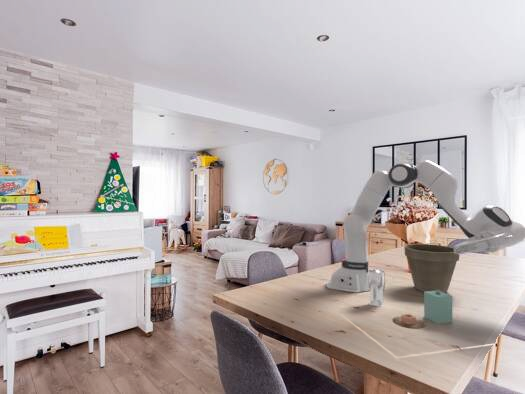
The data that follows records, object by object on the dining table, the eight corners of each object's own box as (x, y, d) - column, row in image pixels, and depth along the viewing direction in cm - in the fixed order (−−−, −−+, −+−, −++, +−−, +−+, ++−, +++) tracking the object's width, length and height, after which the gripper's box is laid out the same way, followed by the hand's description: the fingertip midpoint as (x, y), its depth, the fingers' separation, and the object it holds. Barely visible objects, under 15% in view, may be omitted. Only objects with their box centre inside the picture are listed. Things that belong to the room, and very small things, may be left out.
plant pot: (469, 299, 141) (469, 252, 141) (412, 295, 146) (411, 250, 146) (448, 284, 166) (447, 244, 166) (399, 281, 171) (399, 243, 171)
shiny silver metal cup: (381, 302, 137) (381, 269, 137) (388, 307, 130) (387, 272, 130) (365, 302, 137) (365, 269, 137) (371, 308, 130) (371, 272, 130)
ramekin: (407, 324, 111) (407, 318, 111) (401, 321, 115) (401, 314, 115) (415, 323, 112) (415, 317, 112) (409, 320, 116) (409, 313, 116)
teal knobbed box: (437, 324, 112) (437, 293, 112) (424, 317, 119) (424, 288, 119) (452, 322, 114) (452, 292, 114) (438, 315, 120) (438, 287, 120)
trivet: (393, 327, 110) (393, 325, 110) (391, 316, 121) (391, 315, 121) (427, 332, 106) (427, 330, 106) (423, 320, 117) (423, 318, 117)
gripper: (520, 243, 112) (492, 253, 109) (473, 252, 131) (449, 261, 127) (511, 227, 114) (484, 236, 110) (466, 238, 133) (442, 246, 129)
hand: (465, 249), depth 119 cm, fingers open, 8 cm apart
